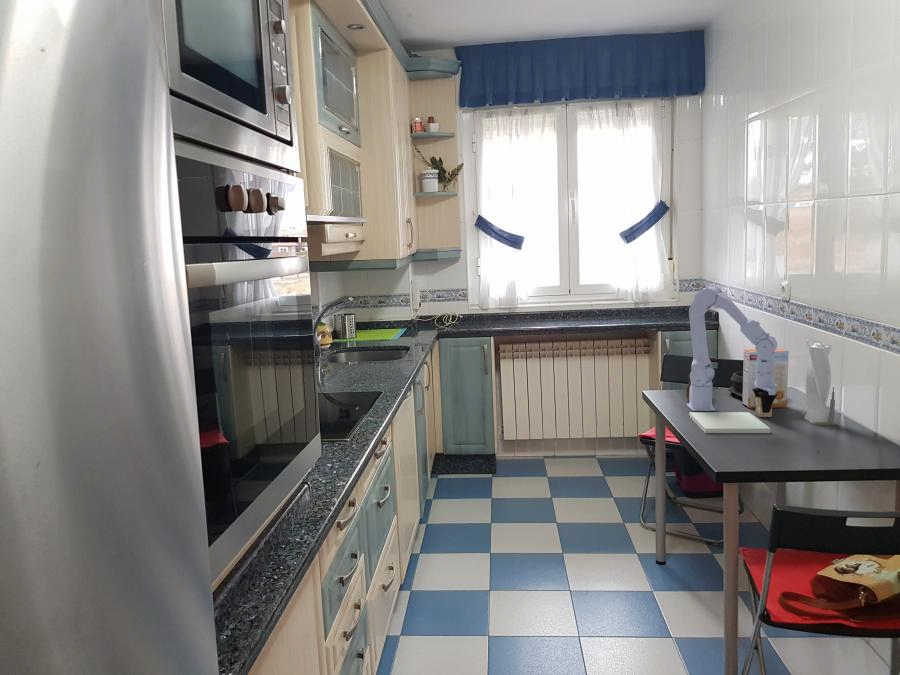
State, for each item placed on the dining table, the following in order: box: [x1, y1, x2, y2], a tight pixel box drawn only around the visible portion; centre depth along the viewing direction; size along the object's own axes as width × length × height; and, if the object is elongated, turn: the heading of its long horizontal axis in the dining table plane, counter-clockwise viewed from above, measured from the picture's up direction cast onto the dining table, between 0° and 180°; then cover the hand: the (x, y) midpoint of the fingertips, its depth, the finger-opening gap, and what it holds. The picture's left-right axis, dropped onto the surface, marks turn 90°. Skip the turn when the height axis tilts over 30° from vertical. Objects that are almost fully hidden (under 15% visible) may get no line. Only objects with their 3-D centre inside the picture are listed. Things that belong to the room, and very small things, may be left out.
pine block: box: [755, 397, 773, 418], centre depth 238 cm, size 4×4×6 cm
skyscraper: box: [803, 339, 836, 426], centre depth 230 cm, size 8×8×28 cm
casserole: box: [727, 370, 743, 398], centre depth 268 cm, size 25×19×8 cm
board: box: [688, 411, 771, 434], centre depth 230 cm, size 20×20×2 cm
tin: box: [685, 380, 691, 402], centre depth 264 cm, size 15×3×8 cm, turn 141°
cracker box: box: [742, 348, 790, 409], centre depth 251 cm, size 14×6×21 cm, turn 89°
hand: (763, 410), depth 239 cm, fingers closed on pine block, 4 cm apart
